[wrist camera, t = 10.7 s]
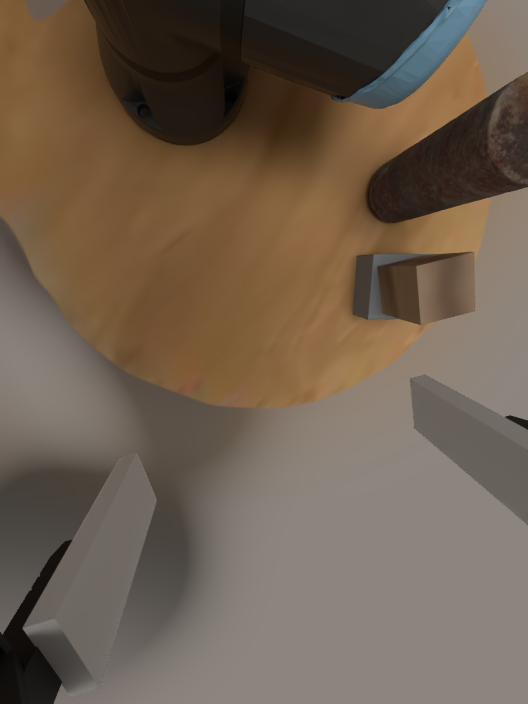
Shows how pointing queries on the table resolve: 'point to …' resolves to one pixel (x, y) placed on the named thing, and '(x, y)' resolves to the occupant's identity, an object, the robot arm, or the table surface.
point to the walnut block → (428, 287)
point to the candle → (459, 160)
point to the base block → (372, 284)
